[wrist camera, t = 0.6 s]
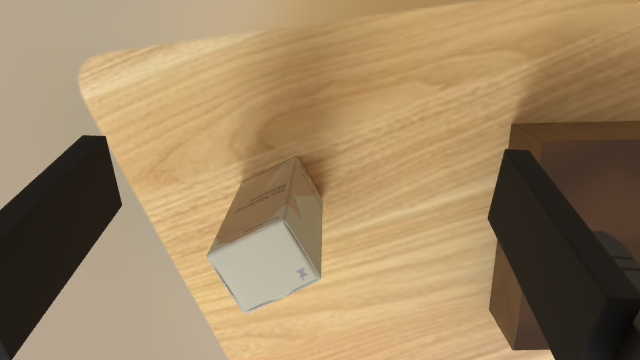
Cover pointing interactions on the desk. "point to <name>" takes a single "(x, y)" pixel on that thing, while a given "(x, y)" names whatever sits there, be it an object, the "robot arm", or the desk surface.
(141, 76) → the desk surface
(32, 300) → the robot arm
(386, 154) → the desk surface
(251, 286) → the box
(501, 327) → the block
